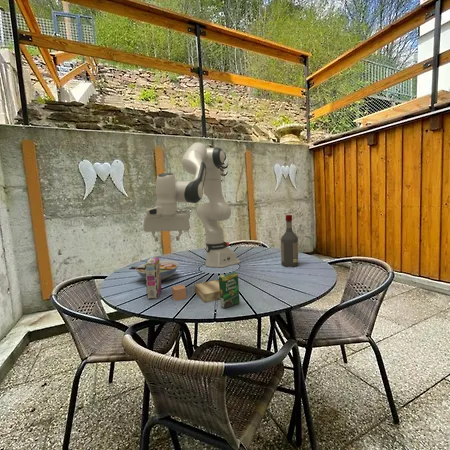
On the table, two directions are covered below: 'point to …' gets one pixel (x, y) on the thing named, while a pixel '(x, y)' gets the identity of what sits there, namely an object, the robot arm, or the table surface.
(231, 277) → the coffee box
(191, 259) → the table surface
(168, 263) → the ramen bowl
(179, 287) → the terracotta cube
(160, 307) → the table surface
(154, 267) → the candy bar box
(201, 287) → the maple block
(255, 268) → the table surface
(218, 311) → the table surface
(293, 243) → the liquor
